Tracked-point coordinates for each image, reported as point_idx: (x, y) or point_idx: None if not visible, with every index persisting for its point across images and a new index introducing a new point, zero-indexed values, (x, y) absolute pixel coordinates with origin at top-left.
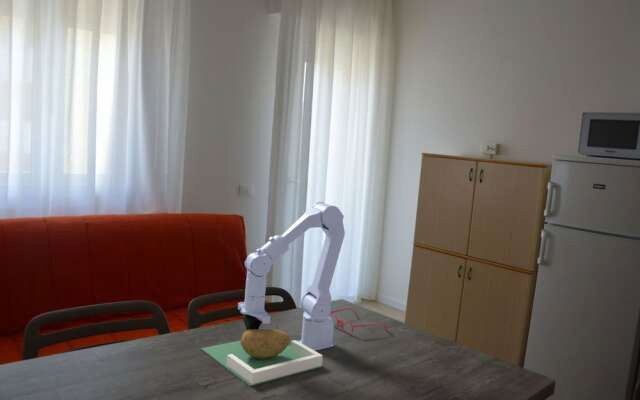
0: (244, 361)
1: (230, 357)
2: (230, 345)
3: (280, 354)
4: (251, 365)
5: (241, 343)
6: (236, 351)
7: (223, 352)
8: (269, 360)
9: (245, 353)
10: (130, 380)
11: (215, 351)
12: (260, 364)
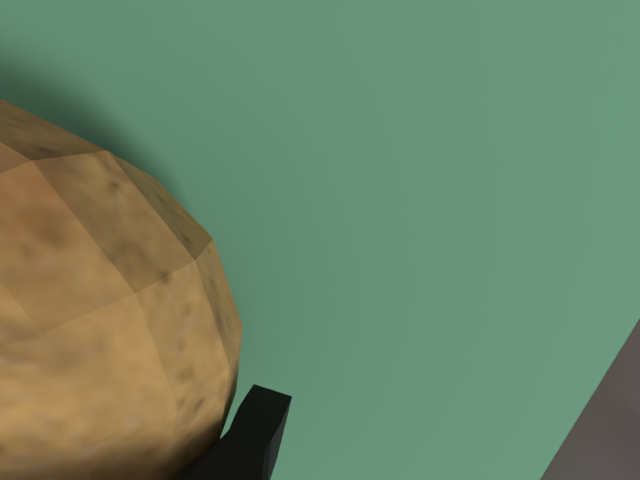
0: (121, 96)
1: None
2: (549, 299)
3: None
4: (13, 80)
5: (57, 137)
6: (373, 225)
7: (465, 85)
8: None
9: (272, 252)
10: None
11: (581, 20)
12: None
